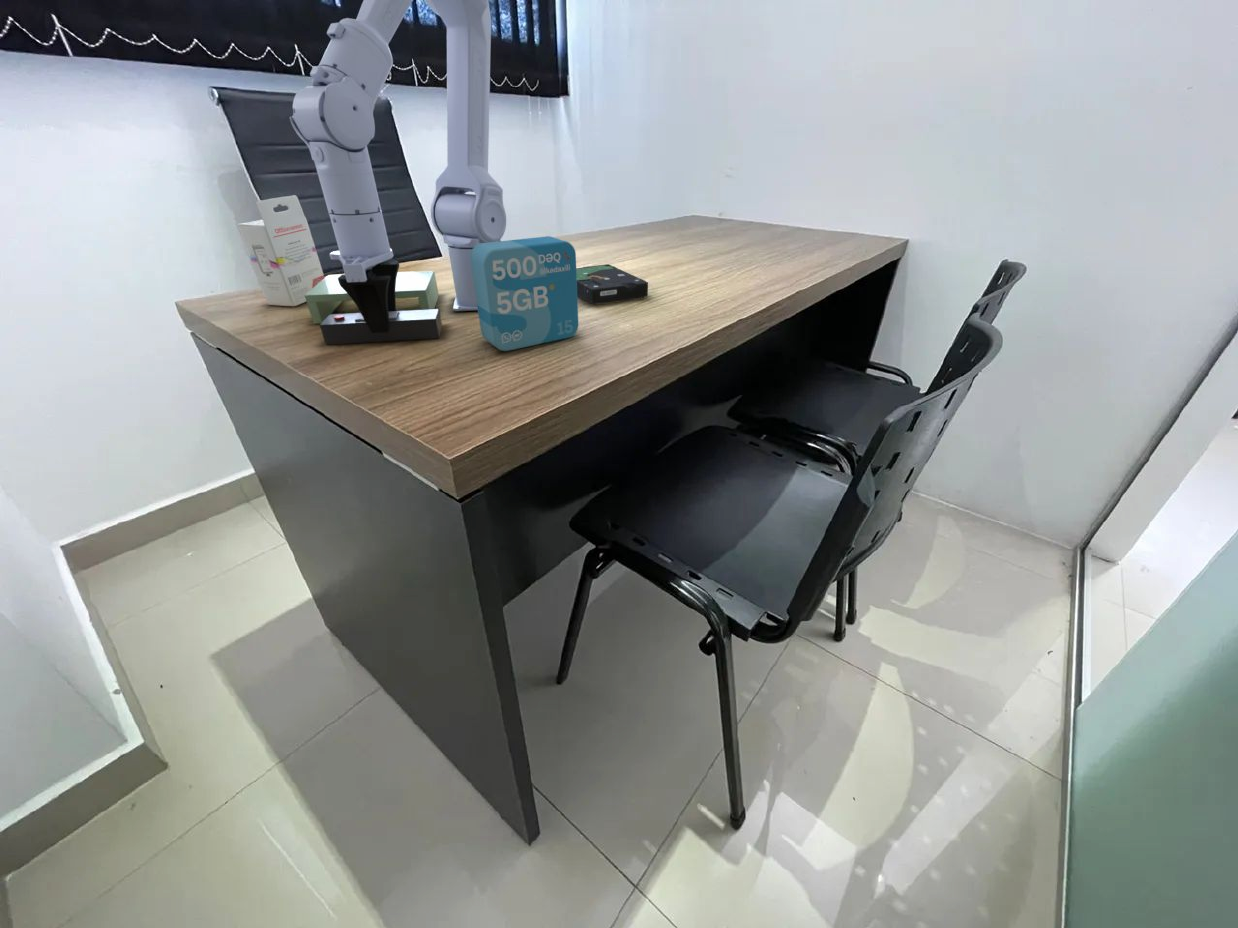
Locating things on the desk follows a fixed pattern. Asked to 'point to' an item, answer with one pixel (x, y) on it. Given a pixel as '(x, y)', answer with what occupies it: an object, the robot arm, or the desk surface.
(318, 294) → the shelf
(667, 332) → the desk surface
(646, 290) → the disk drive
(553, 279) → the data package
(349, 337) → the remote
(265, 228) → the ink cartridge box
